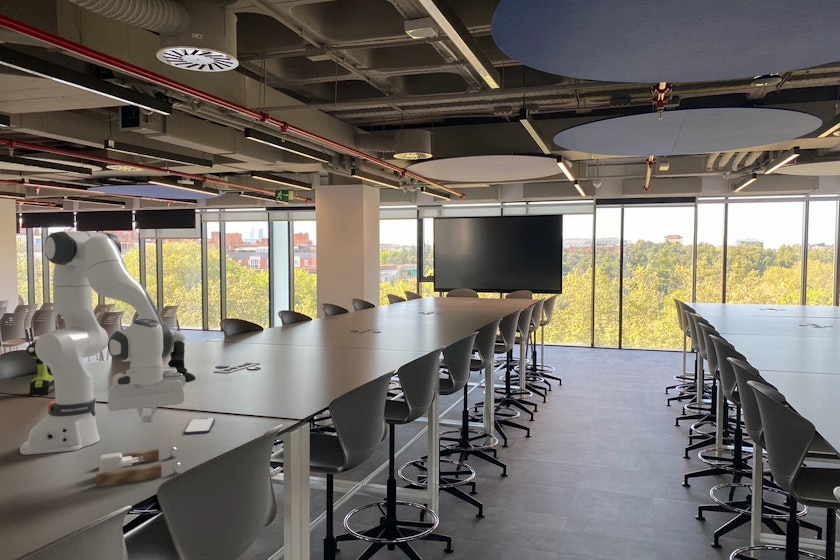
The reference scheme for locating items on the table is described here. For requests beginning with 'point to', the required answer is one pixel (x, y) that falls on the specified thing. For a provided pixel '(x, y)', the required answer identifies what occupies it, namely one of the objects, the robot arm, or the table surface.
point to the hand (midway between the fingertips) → (147, 422)
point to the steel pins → (176, 464)
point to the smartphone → (199, 426)
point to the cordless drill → (40, 375)
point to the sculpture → (179, 356)
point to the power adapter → (115, 462)
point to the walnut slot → (132, 470)
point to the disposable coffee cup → (169, 370)
